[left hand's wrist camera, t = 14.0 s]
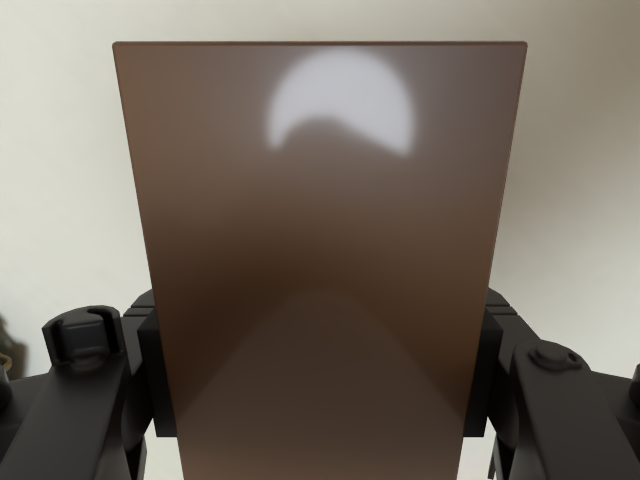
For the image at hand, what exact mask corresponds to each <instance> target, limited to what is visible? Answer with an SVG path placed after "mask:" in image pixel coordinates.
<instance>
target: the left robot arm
mask: <svg viewBox="0 0 640 480" xmlns="http://www.w3.org/2000/svg"><path fill="white" fill-rule="evenodd" d="M42 332H43V335H44V339H45V342H46V346H47V349H48V353H49V356H50V360H51V363H52V366H51V368H50V370H49V372H48V373H45V374H41V375H36V376H31V377H26V378H21V379H16V380H11V381H9V380H8V377H7V374H6V371H5V368H4V367H3V366H1V365H0V480H143V478H144V471H145V463H146V456H147V448H146V442H145V437H144V434H145V432H146V430H147V428H148V426H149V424H150V422H151V420H152V418H153V420H154V426H155V431H156V436H157V437H177V434H176V428H175V422H174V416H173V410H172V404H171V398H170V392H169V386H168V380H167V374H166V368H165V362H164V356H163V350H162V344H161V338H160V332H159V326H158V320H157V314H156V308H155V302H154V296H153V290H152V289H151V290H149V291H147V292H145V293H144V294H142V295H140V296H139V297H138V298H137V300H136V301H135V302H134V303H133V304H132V305H131V308H129V309H128V310H127V311H126V312H125V313H124V314H123V317H121V318H120V313H119V311H118V310H116V309H115V308H114V307H109V306H104V305H98V306H87V307H82V308H77V309H74V310H71V311H68V312H65V313H63V314H60V315H58V316H57V317H55V318H53V319H51V320H50V321H48V322H47V323H46V324H45V325H44V326H43V327H42ZM487 417H489V419H490V421H491V423H492V425H493V427H494V429H495V431H496V437H495V442H494V447H493V451H492V456H491V461H490V466H489V472H488V479H492V480H493V478H494V474H495V471H496V477H497V480H640V364H638V365H637V367H636V370H635V373H634V375H633V378H632V379H629V378H624V377H619V376H614V375H608V374H603V373H598V372H594V371H591V369H590V368H589V366H588V364H587V363H586V362H585V361H584V359H583V358H582V357H581V356H580V355H578V354H577V353H575V352H574V351H572V350H571V349H569V348H567V347H564V346H562V345H560V344H557V343H554V342H550V341H545V340H541V339H540V338H539V337H538V336H537V335H536V334H535V332H534V331H533V330H532V329H531V328H530V327H529V326H528V325H527V323H526V322H525V321H524V320H523V319H522V318H521V317H520V316H519V315H517V312H516V311H515V310H514V309H513V308H512V307H510V304H509V303H508V302H507V301H506V300H505V299H504V298H503V296H502V295H501V294H499V293H497V292H496V291H494V290H492V289H491V288H489V287H488V291H487V297H486V303H485V309H484V315H483V321H482V327H481V333H480V339H479V345H478V352H477V358H476V364H475V370H474V376H473V382H472V388H471V394H470V400H469V406H468V413H467V419H466V425H465V431H464V437H484V432H485V427H486V422H487Z"/></svg>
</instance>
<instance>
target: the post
mask: <svg viewBox="0 0 640 480" xmlns="http://www.w3.org/2000/svg"><path fill="white" fill-rule="evenodd" d="M527 47H528V46H527V43H526V42H524V41H116V42H114V43H113V44H112V49H113V55H114V61H115V67H116V73H117V79H118V85H119V91H120V97H121V103H122V109H123V115H124V121H125V127H126V133H127V139H128V145H129V151H130V157H131V163H132V169H133V175H134V181H135V187H136V193H137V199H138V205H139V211H140V217H141V223H142V229H143V235H144V242H145V248H146V254H147V260H148V266H149V272H150V278H151V284H152V290H153V296H154V302H155V308H156V314H157V320H158V326H159V332H160V338H161V344H162V350H163V356H164V362H165V368H166V374H167V380H168V386H169V392H170V398H171V404H172V410H173V416H174V422H175V428H176V434H177V440H178V446H179V452H180V459H181V465H182V471H183V477H184V480H457V473H458V467H459V461H460V455H461V449H462V443H463V437H464V431H465V425H466V419H467V413H468V406H469V400H470V394H471V388H472V382H473V376H474V370H475V364H476V358H477V352H478V345H479V339H480V333H481V327H482V321H483V315H484V309H485V303H486V297H487V291H488V284H489V278H490V272H491V266H492V260H493V254H494V248H495V242H496V236H497V230H498V223H499V217H500V211H501V205H502V199H503V193H504V187H505V181H506V175H507V169H508V163H509V156H510V150H511V144H512V138H513V132H514V126H515V120H516V114H517V108H518V102H519V95H520V89H521V83H522V77H523V71H524V65H525V59H526V53H527Z"/></svg>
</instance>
